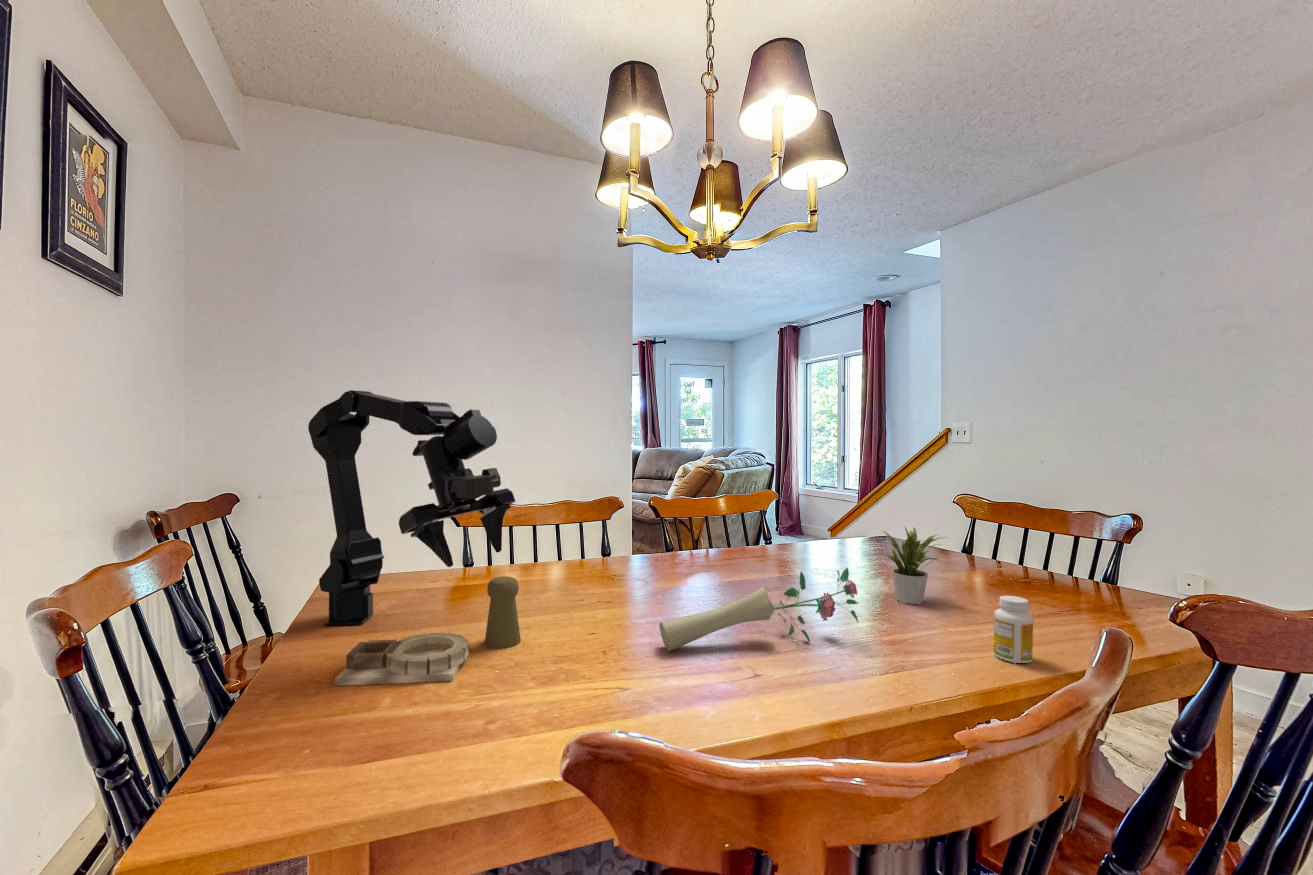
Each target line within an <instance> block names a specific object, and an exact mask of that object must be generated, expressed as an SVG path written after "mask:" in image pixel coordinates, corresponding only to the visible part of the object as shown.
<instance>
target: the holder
mask: <svg viewBox="0 0 1313 875" xmlns="http://www.w3.org/2000/svg"><path fill="white" fill-rule="evenodd" d="M469 651H470V642H469V640H468V639H467V638H466V637H465V636H464V635H461V634H458V633H454V632H453V633H452V632H447V633H446V632H445V631H444V632H428V634H427V633H422V634H416V635H411V636H410V635H409V636H408V637H404V638H400V639H399V640H397V639H374V640H368V641H359V642H358V643H357V644H356V645H355V646H354V647H353V648H352V649H351V650H350V651H349V652H348V653H347V654H346V655H345V657H346V659H345V661H346V663H345V668H344V669H343V670H342V671H341V672H340V673H339V674H338V675H337V676H336V677H335V679H334V686H336V687H337V686H341V687H342V686H362V685H363V686H365V685H384V684H385V685H386V684H388V685H389V684H410V683H411V684H412V683H434V682H453V681H454V680H455V677H456V675H457V673H458V672H459V669H460V668H461V666H462V664H463V663H464V662H465V661H466V660H467V658H468V656H469Z"/></svg>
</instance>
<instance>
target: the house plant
mask: <svg viewBox="0 0 1313 875" xmlns="http://www.w3.org/2000/svg"><path fill="white" fill-rule="evenodd" d="M904 528H905V529H904V530H905V532H906V537H907V538H906V539H905V541H904V540H903V542H901V548H900V546H899V545H898V543H897V541H896V539H894V538H893V537H892V535H890V534H889V533H887V532H886V531H885V530H884V531H883V530H880V531H881V532H883V533H884V534H885V535H886V536H887V537H888V538H887V537H885V536H884V538H885V539H886V540H888V542H889V543H890V545H891V546H893V548H891V550H892V555H891V554H885V555H883V558H889V559H890V560H892V561H893V562H894V563H895V565H896V567H897V568H895V569H892V571H891V572H892V573H891V574H892V578H893V585H894V591H895V598H896V599H897V600H899V601H901V602H905V603H910V604H919V603H922V602H924V598H925V591H926V586H927V581H928V576H929V575H928V572H926V571H922V570H923V569H924V568H925V567H927V566H928V565H929V564H931V563H932V562H933V561H938V562H939V563H941V561H940V560H938V559H939V557H937V558H935V557H928V556H926V555H927V553H928V552H930V549H931V548H932V547H935V546H941V544H939V543H938V544H937V543H936V544H933V545H931V546H929V545H930V544H932V543H933V542H935V541H937V540H940V539H948V537H947V536H945V537H943V536H942V537H937V536H939V535H940V533H937V534H934V535H931V536H929V537H927V538H926V539H925V540H923V539H920V540H918V534H917V533H918V532H917V530H916V528H915V526H913V527H912V528H913V530H910V531H909V530H908V529H907V528H906V526H905V525H904ZM935 537H936V538H935ZM921 541H922V543H921ZM928 546H929V547H928ZM926 548H927V549H926ZM925 549H926V550H925ZM896 552H897V553H896ZM928 560H931V561H930V562H929V563H927V564H926V565H925V566H923V567H922V568H921V569H920V570H919V567H920V566H921V564H923V563H924V562H926V561H928ZM897 600H896V601H897ZM899 601H898V602H899ZM901 602H900V603H901ZM910 604H909V605H910ZM922 604H923V603H922ZM919 605H920V604H919Z"/></svg>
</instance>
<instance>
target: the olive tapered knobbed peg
mask: <svg viewBox="0 0 1313 875" xmlns="http://www.w3.org/2000/svg"><path fill="white" fill-rule="evenodd" d="M519 588H520V587H519V582H518V579H517V578H515V577H512V576H507V575H504V576H497V577H493V578H492V579H490V580H489V581H488V584H487V588H486V589H487V591H486V592H487V595H488V597H489V598H490V600H489V601H490V602H489V606H488V607H489V609H488V616H487V622H486V630H485V638H484V645H485V647H487V648H490V649H509V648H512V647H515V646H518V645H519V644H520V643H521V642H522V641H521V640H522V639H521V633H520V624H519V616H518V608H517V600H516V596H517V595H518V593H519Z"/></svg>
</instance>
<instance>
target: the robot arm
mask: <svg viewBox="0 0 1313 875" xmlns="http://www.w3.org/2000/svg"><path fill="white" fill-rule="evenodd" d="M353 413H355V414H353ZM370 417H373V418H376V419H377V418H378V419H380V420H381V419H382V420H385V421H389V422H393V423H395V424H398V425H399V426H398V427H400V429H401V430H403V431H406V432H407V433H409V434H410V435H413V436H432V437H431V438H429V439H426V440H425V439H424V440H423V439H422V440H421V439H420V440H418V441H417V444H416V446H415V447H414V449H413V450H412V456H414V457H421V456H423V459H424V462H425V465H426V469H427V472H428V475H429V478H430V482H429V483H428V484H427V486H428V489H429V490H430V491H431V490H434V493H435V497H436V500H437V503H438V505H436V504H435V503H434V502H431V503H427V504H422V505H417V506H413V507H412V508H410V509H409V510H407V511H406V512H405V513H403V514H402V515H401V516H400V517H399V520H398V526H399V530H400V534H401V535H406V534H409V533H411V534H410V538H417V539H418V540H419V541H421V542H422V543H423V544H424V545H425V546H427V548H429V549H430V550H431V551H432V552H433V553H434V554H435V555H436V557H437V558H439V559H440V560H441V561H442V563H443V564H445V566H446V567H447V568H451V567H453V566H454V562H453V557H452V553H451V550H450V547H449V545H448V542H447V539H446V536H445V533H444V528H445V527H444V526H445V525H444V523H445V521H444V519H448V518H453V517H458V516H461V515H462V516H463V515H465V514H471V513H475V512H479V513H480V514H482V515H483V516H482V517H480V518H479V520H480V521H481V522H480V523H482V526H483V528H484V530H485V532H486V535H487V537H488V539H489V541H490V544H491V546H492V548H493V550H494V552H496V553H497V554H498V553H500V552H502V548H503V547H502V542H503V523H504V517H505V514H506V512H507V511H508V510H510V509H511V506H512V505H513V504H514V503H515V502H517V501H516V498H515V495H514V493H513V491H512V490H510V489H509V488H503V489H498V490H494V488H499V487H500V486H501V484H502V482H501V475H500V473H499V471H498V468H497V467H491V468H485V469H482V471H481V474H479V475H474V473H473V471H472V469H471V468H470V467H468V468H466V467H465V464H464V461H467V460H470V459H472V458H474V457H475V456H478V454H480V453H482V452H484V451H486V450H488V449H490V448H491V447H493V446H494V445H495V444H496V443H497V439H498V436H497V430H496V427H495V426H493V425H492V423H491V422H490V421H489V420H488V419H487V418H486V417H485V416H483V415H482V413H481V410H480V409H469V410H467V411H466V412H464V413H463V415H461V416H459V415H458V414H456V413H455V412H454V411H453V409H452V406H451V405H450V404H449V403H446V402H438V401H437V402H436V401H424V400H423V401H421V400H414V401H413V400H410V401H409V400H408V401H407V400H403V399H398V398H392V397H388V396H385V395H380V394H375V393H373V392H371V391H369V390H368V391H367V390H353V389H352V390H348V391H345V392H344V393H342V394H341V396H340V397H339V398H337V399H336V400H334V401H332V402H330V403H328V404H326V405H325V406H322V407H321V408H320V409H319V410H318V411H317V412H316V413H315V415H313V417H312V418H311V419H310V420H309V423H308V427H307V428H308V429H307V430H308V432H309V437H310V440H311V443H312V446H313V449H314V450H315V451H316V452H317V453H318V454H319V455H320V457H321V458H322V459H323V460H324V462H325V467H326V474H327V480H328V485H329V486H328V488H329V493H330V499H331V506H332V512H333V513H332V514H333V519H334V525H335V532H336V538H335V540H334V542H333V545H332V546H331V549H330V552H329V565H328V566H327V568H326V569H325V571H324V572H323V574H322V575H321V576H320V577H319V579H318V583H319V587H320V591H321V592H325V593H328V619H327V620H326V621H325V622H324V626H347V625H348V626H349V625H362V624H364V622H366V621H367V620H368V619H369V618H370V617H371V616H373V615H374V593H373V592H371V585H376V584H378V582H379V579H380V575H381V572H382V569H383V562H384V560H383V559H385V556H384V554H383V551H382V541H381V539H380V537H373V535H371V533H369V531H368V530H367V526H366V525H367V524H366V519H365V512H364V507H363V506H364V504H363V501H362V494H361V486H360V483H359V482H360V481H359V475H358V470H357V463H356V462H357V461H356V455H357V453H358V451H359V449H360V446H361V444H362V433H363V431H364V430H365V429H367V427H368V426H369V424H370ZM463 460H464V461H463ZM478 498H479V499H478Z"/></svg>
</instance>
